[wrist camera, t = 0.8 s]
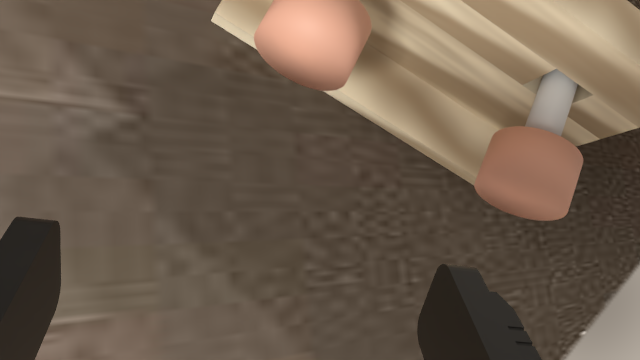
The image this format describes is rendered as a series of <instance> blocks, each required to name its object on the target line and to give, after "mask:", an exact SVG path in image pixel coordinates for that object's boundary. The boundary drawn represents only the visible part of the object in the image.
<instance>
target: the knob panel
mask: <svg viewBox="0 0 640 360" xmlns="http://www.w3.org/2000/svg"><path fill="white" fill-rule="evenodd" d="M359 1H360V2H361V3H362V5H363V6H364V7H365V9H366V10H367V12H368V14H369V16H370V19H371V25H372V29H371V33H370V35H369V37H368V40H367V42H366V44H365V46H364V48H363V50H362V52H361V54H360V56H359V58H358V60H357V62H356V64H355V66H354V68H353V70H352V72H351V74H350V76H349V78H348V80H347V82H346V84H345V85H344V86H343V87H342V88H340V89H337V90H333V91H324V92H325V93H327V94H329V95H330V96H332V97H333V98H335V99H337V100H338V101H340V102H341V103H343V104H345V105H346V106H348V107H349V108H351V109H353V110H354V111H356V112H357V113H359V114H361V115H362V116H364V117H365V118H367V119H369V120H370V121H372V122H373V123H375V124H377V125H378V126H380V127H381V128H383V129H385V130H386V131H388V132H389V133H391V134H393V135H394V136H396V137H397V138H399V139H401V140H402V141H404V142H405V143H407V144H409V145H410V146H412V147H413V148H415V149H417V150H418V151H420V152H421V153H423V154H424V155H426V156H428V157H429V158H431V159H432V160H434V161H436V162H437V163H439V164H440V165H442V166H444V167H445V168H447V169H448V170H450V171H452V172H453V173H455V174H456V175H458V176H460V177H461V178H463V179H464V180H466V181H468V182H469V183H471V184H472V185H474V184H475V181H476V178H477V175H478V173H479V170H480V167H481V165H482V162H483V159H484V157H485V154H486V151H487V149H488V146H489V143H490V141H491V138H492V136H493V135H494V133H495V132H497V131H498V130H500V129H503V128H507V127H514V126H525V125H526V122H527V119H528V116H529V114H530V111H531V108H532V105H533V102H534V100H535V97H536V94H537V91H538V88H539V86H540V83H541V80H542V77H543V75H545V74H547V73H549V72H551V71H553V70H555V69H558V70H559V71H560V72H562V73H563V74H565V75H566V76H567V77H569V78H570V79H572V80H573V81H574V82H576V83H577V84H578V86H577V89H576V92H575V95H574V98H573V101H572V104H571V107H570V110H569V113H568V116H567V119H566V122H565V125H564V128H563V131H562V134H561V137H563V138H565V139H566V140H568V141H569V142H571V143H572V144H573V145H575V146H580V145H583V144H586V143H590V142H593V141H596V140H600V139H603V138H606V137H609V136H613V135H616V134H619V133H623V132H626V131H629V130H633V129H636V128H639V127H640V10H639V9H637V8H636V7H635V6H634V5H632V4H631V3H630V2H629V1H627V0H359ZM272 2H273V0H222V1H221V3H220V5H219V6H218V8H217V10H216V11H215V13H214V15H213V18H212V20H211V21H212V22H214V23H215V24H217V25H218V26H220V27H222V28H223V29H225V30H226V31H228V32H230V33H231V34H233V35H234V36H236V37H238V38H239V39H241V40H242V41H244V42H246V43H247V44H249V45H250V46H252V47H254V48H255V49H257V48H256V46H255V42H254V34H255V32H256V30H257V28H258V26H259V25H260V23H261V21H262V20H263V18H264V16H265V14H266V13H267V11H268V9H269V7H270V6H271V4H272Z"/></svg>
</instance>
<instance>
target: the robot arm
mask: <svg viewBox="0 0 640 360" xmlns="http://www.w3.org/2000/svg"><path fill="white" fill-rule="evenodd" d="M60 287H61V256H60V225H59V222H58V221H53V220H44V219H35V218H26V217H16V218H15V219H14V220H13V221H12V223H11V224H10V226H9V227H8V229H7V231H6V232H5V234H4V235H3V237H2V238H1V240H0V360H35V357H36V355H37V353H38V350H39V348H40V346H41V343H42V341H43V339H44V336H45V334H46V332H47V329H48V327H49V325H50V322H51V320H52V318H53V315H54V313H55V310H56V307H57V304H58V299H59V294H60ZM418 341H419V345H420V348H421V351H422V354H423V357H424V360H542V359H541V358H540V356H539V354H538V352H537V350H536V349H535V347H533V346H532V341H531V340H530V338H529V336H528V334H527V332H526V331H524V327H523V325H522V323H521V321H520V320H519V318H518V316H517V314H516V312H515V311H514V309H513V308H512V307H511V306H510V305H509V304H508V303H507V302H506V301H505V300H504V299H503V298H502V297H501V296H500V295H499V294H498V293H497V292H489V290H488V288H487V286H486V284H485V282H484V280H483V278H482V276H481V275H480V273H479V271H478V270H477V269H476V268H475V267H467V266H457V265H448V264H442V265H440V266H439V267H438V269H437V271H436V273H435V276H434V279H433V281H432V284H431V287H430V289H429V292H428V294H427V297H426V300H425V302H424V305H423V308H422V310H421V313H420V316H419V320H418Z"/></svg>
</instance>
